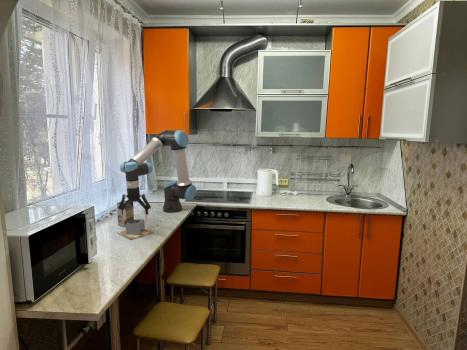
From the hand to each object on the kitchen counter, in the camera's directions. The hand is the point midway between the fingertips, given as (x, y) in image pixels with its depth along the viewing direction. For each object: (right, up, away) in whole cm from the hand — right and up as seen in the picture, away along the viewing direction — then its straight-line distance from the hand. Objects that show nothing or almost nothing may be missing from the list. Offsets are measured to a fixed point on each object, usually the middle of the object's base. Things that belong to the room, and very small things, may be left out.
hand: (135, 219), depth 203 cm
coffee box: (-12, -6, +19) cm, 23 cm away
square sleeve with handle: (0, -8, +4) cm, 8 cm away
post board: (0, -9, +1) cm, 9 cm away
